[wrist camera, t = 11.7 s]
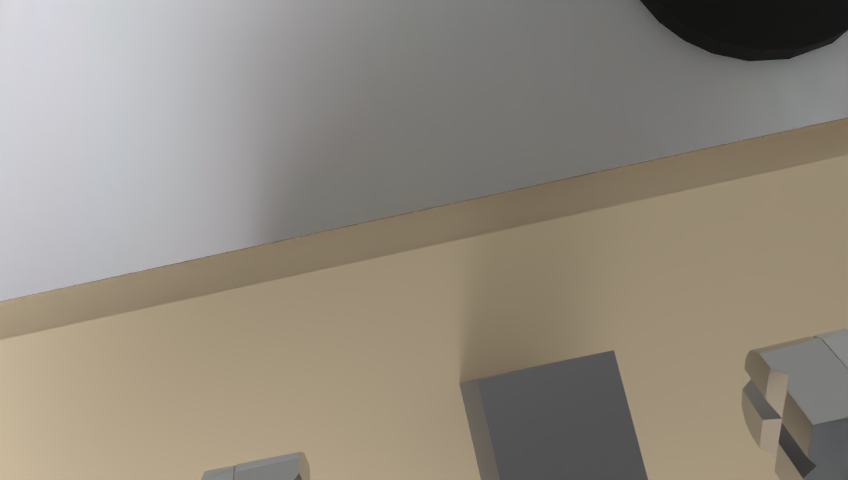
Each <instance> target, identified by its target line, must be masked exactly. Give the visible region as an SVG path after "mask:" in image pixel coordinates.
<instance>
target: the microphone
mask: <svg viewBox="0 0 848 480" xmlns="http://www.w3.org/2000/svg"><path fill="white" fill-rule="evenodd" d="M641 1H642V3H643V4H644V5H645V6H646V7H647V8H648V10H649V11H650V12H651V13H652V14H653V15H654V17H655V18H656V19H657V20H658V21H659V22H660V23H661V24H663V25H664V26H665V27H667V28H668V29H669V30H671V31H672V32H673V33H675V34H676V35H678V36H679V37H680V38H682V39H683V40H685V41H687V42H689V43H691V44H693V45H696V46H698V47H700V48H702V49H704V50H706V51H708V52H711V53H714V54H718V55H723V56H728V57H733V58H737V59H742V60H747V61H755V60H777V59H790V58H793V57H795V56H798V55H801V54H804V53H806V52H809V51H812V50H814V49H817V48H820V47H823V46H825V45H828V44H831V43H833V42H834V41H835V40H836V39H837V38H839V37H840V36H841V35H842V34H843V33H845V32H846V31H847V30H848V0H641Z"/></svg>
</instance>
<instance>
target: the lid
mask: <svg viewBox="0 0 848 480" xmlns="http://www.w3.org/2000/svg"><path fill="white" fill-rule="evenodd" d="M845 328H846V329H848V118H843V119H839V120H834V121H830V122H825V123H820V124H816V125H811V126H807V127H802V128H797V129H793V130H788V131H784V132H779V133H774V134H770V135H765V136H761V137H756V138H751V139H747V140H742V141H738V142H733V143H728V144H724V145H719V146H714V147H710V148H705V149H701V150H696V151H691V152H687V153H682V154H678V155H673V156H668V157H664V158H659V159H655V160H650V161H645V162H641V163H636V164H632V165H627V166H622V167H618V168H613V169H609V170H604V171H599V172H595V173H590V174H586V175H581V176H576V177H572V178H567V179H562V180H558V181H553V182H549V183H544V184H539V185H535V186H530V187H526V188H521V189H516V190H512V191H507V192H503V193H498V194H493V195H489V196H484V197H480V198H475V199H470V200H466V201H461V202H457V203H452V204H447V205H443V206H438V207H434V208H429V209H424V210H420V211H415V212H410V213H406V214H401V215H397V216H392V217H387V218H383V219H378V220H374V221H369V222H364V223H360V224H355V225H351V226H346V227H341V228H337V229H332V230H328V231H323V232H318V233H314V234H309V235H305V236H300V237H295V238H291V239H286V240H282V241H277V242H272V243H268V244H263V245H258V246H254V247H249V248H245V249H240V250H235V251H231V252H226V253H222V254H217V255H212V256H208V257H203V258H199V259H194V260H189V261H185V262H180V263H176V264H171V265H166V266H162V267H157V268H153V269H148V270H143V271H139V272H134V273H130V274H125V275H120V276H116V277H111V278H106V279H102V280H97V281H93V282H88V283H83V284H79V285H74V286H70V287H65V288H60V289H56V290H51V291H47V292H42V293H37V294H33V295H28V296H24V297H19V298H14V299H10V300H5V301H1V302H0V480H201V478H202V476H203V474H204V472H205V471H208V470H213V469H218V468H223V467H228V466H233V465H237V464H241V463H246V462H251V461H256V460H261V459H266V458H271V457H276V456H281V455H286V454H291V453H296V452H304V454H305V456H306V458H307V461H308V463H309V466H310V480H780V479H779V477H778V476H777V474H776V473H775V464H776V457H775V456H773V455H771V454H769V453H767V452H766V451H764V450H762V449H760V448H759V447H758V445H757V444H756V442H755V440H754V439H753V437H752V436H751V434H750V431H749V429H748V427H747V425H746V423H745V419H744V414H743V410H742V406H741V403H742V389H743V388H744V387H745V386H746V384H747V383H748V382H749V381H750V380H751V378H750V376H749V375H748V373H747V372H746V371H745V369H744V367H745V359H746V356H747V354H748V353H749V351H750V350H753V349H758V348H762V347H766V346H770V345H775V344H779V343H783V342H787V341H792V340H796V339H800V338H804V337H808V336H810V337H812V336H814V335H819V334H823V333H827V332H832V331H836V330H840V329H845Z"/></svg>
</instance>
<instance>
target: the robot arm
mask: <svg viewBox="0 0 848 480" xmlns="http://www.w3.org/2000/svg"><path fill="white" fill-rule="evenodd" d="M744 369H745V371H746V372H747V373H748V375H749V376H750V378H751V380H750V381H749V382H748V383H747V384H746V386H745V387H744V388H743V389H742V403H741V406H742V410H743V414H744V419H745V423H746V425H747V427H748V429H749V431H750V434H751V436H752V437H753V439H754V440H755V442H756V444H757V445H758V447H759V448H760V449H762V450H764V451H766V452H767V453H769V454H771V455H773V456H775V457H776V464H775V473H776V474H777V476H778V477H779V479H780V480H848V329H846V328H845V329H840V330H836V331H832V332H827V333H823V334H819V335H814V336H812V337H810V336H808V337H804V338H800V339H796V340H792V341H787V342H783V343H779V344H775V345H770V346H766V347H762V348H758V349H753V350H750V351H749V353H748V354H747V356H746V359H745V367H744ZM201 480H310V466H309V463H308V461H307V458H306V456H305V454H304V452H296V453H291V454H286V455H281V456H276V457H271V458H266V459H261V460H256V461H251V462H246V463H241V464H237V465H233V466H228V467H223V468H218V469H213V470H208V471H205V472H204V474H203V476H202V478H201Z"/></svg>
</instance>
